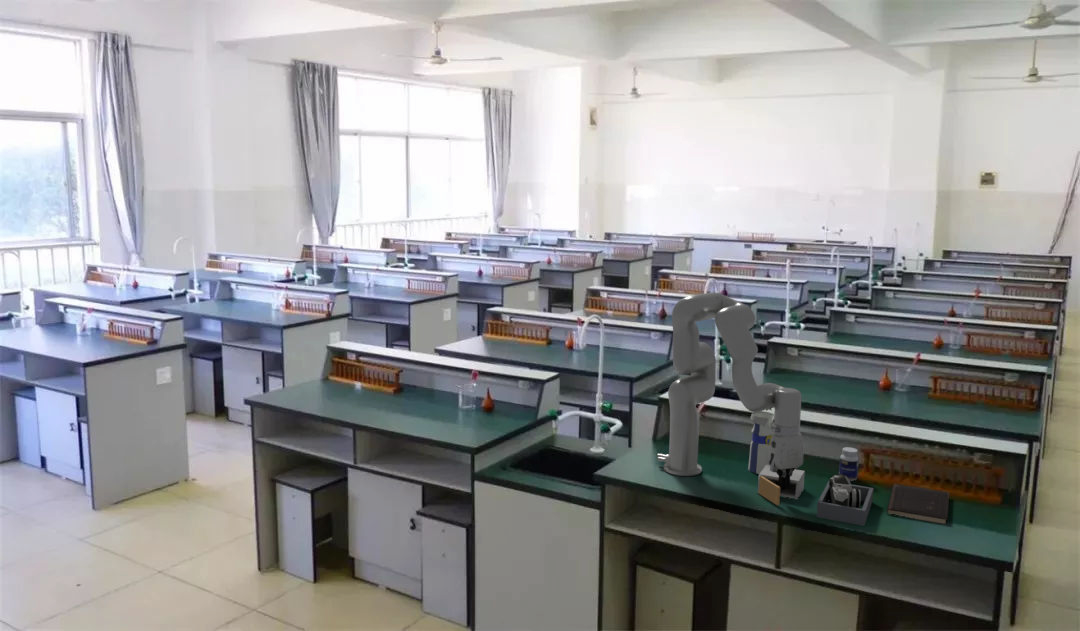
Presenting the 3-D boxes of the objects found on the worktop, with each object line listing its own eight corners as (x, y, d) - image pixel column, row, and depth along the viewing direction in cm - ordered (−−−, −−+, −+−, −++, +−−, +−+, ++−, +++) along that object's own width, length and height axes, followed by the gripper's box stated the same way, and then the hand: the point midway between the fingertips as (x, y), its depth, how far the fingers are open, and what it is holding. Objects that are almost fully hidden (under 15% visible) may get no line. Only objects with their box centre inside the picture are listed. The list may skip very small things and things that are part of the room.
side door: (756, 492, 263) (757, 475, 262) (759, 492, 263) (760, 474, 262) (776, 505, 252) (777, 487, 251) (779, 505, 253) (780, 487, 252)
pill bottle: (838, 480, 275) (840, 450, 273) (839, 474, 280) (841, 445, 278) (856, 482, 273) (859, 453, 271) (857, 476, 278) (859, 447, 276)
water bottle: (779, 471, 282) (783, 398, 278) (761, 476, 278) (765, 402, 273) (759, 464, 289) (763, 393, 285) (742, 468, 284) (746, 396, 280)
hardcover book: (948, 499, 261) (949, 492, 260) (946, 526, 240) (947, 518, 240) (892, 490, 268) (893, 483, 267) (886, 515, 247) (886, 508, 247)
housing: (758, 492, 263) (759, 474, 262) (765, 482, 272) (766, 464, 271) (797, 499, 258) (798, 480, 257) (803, 489, 266) (804, 470, 265)
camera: (863, 522, 241) (866, 489, 240) (831, 519, 243) (834, 486, 242) (855, 501, 257) (857, 470, 255) (825, 499, 259) (827, 468, 257)
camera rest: (816, 517, 245) (817, 502, 244) (827, 494, 262) (828, 480, 261) (864, 525, 239) (865, 510, 238) (872, 502, 256) (873, 488, 255)
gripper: (776, 436, 246) (773, 496, 249) (814, 429, 252) (811, 488, 255) (758, 429, 252) (756, 488, 255) (796, 423, 259) (793, 480, 262)
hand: (783, 488), depth 255 cm, fingers closed
